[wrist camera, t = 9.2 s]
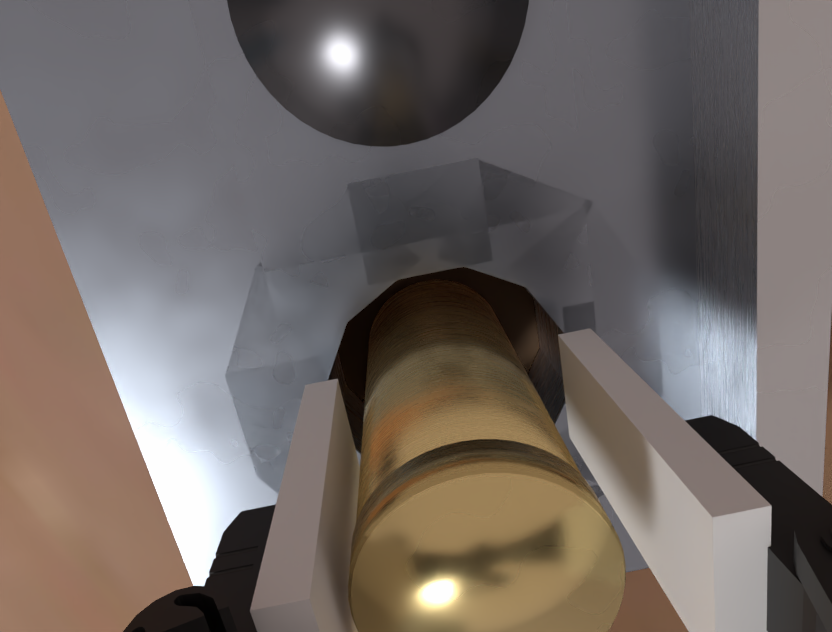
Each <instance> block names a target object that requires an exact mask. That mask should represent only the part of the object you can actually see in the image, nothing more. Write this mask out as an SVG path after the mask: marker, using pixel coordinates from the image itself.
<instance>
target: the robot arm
mask: <svg viewBox="0 0 832 632" xmlns="http://www.w3.org/2000/svg"><path fill="white" fill-rule="evenodd" d="M558 340H559V349H560V358H561V367H562V376H563V385H564V393H565V402H566V411H567V420H568V429H569V437H570V439H571V441H572V442H573V444H574V445H575V447H576V449H577V450H578V452H579V454H580V455H581V457H582V458H583V460H584V462H585V463H586V465H587V467H588V468H589V470H590V472H591V473H592V475H593V476H594V478H595V480H596V481H597V483H598V485H599V486H600V488H601V489H602V491H603V493H604V494H605V496H606V498H607V499H608V501H609V502H610V504H611V506H612V507H613V509H614V511H615V512H616V514H617V516H618V517H619V519H620V520H621V522H622V524H623V525H624V527H625V529H626V530H627V532H628V533H629V535H630V537H631V538H632V540H633V542H634V543H635V545H636V547H637V548H638V550H639V551H640V553H641V555H642V556H643V558H644V560H645V561H646V563H647V564H648V566H649V568H650V569H651V571H652V573H653V574H654V576H655V577H656V579H657V581H658V582H659V584H660V586H661V587H662V589H663V591H664V592H665V594H666V595H667V597H668V599H669V600H670V602H671V604H672V605H673V607H674V608H675V610H676V612H677V613H678V615H679V617H680V618H681V620H682V622H683V623H684V625H685V626H686V628H687V630H688V631H689V632H832V505H831V504H830V503H829V502H828V501H827V500H825V499H824V498H823V497H822V496H821V495H819V494H818V493H817V492H816V491H815V490H814V489H812V488H811V487H810V486H809V485H808V484H807V483H805V482H804V481H803V480H802V479H801V478H799V477H798V476H797V475H796V474H795V473H794V472H792V471H791V470H790V469H789V468H788V467H786V466H785V465H784V464H783V463H782V462H781V461H779V460H778V461H776V459H775V456H774V455H772V454H771V453H770V452H769V451H768V450H766V449H765V448H764V447H763V446H762V447H760V446H759V443H758V442H757V441H756V440H755V439H753V438H752V437H751V436H750V435H749V434H748V433H746V432H745V431H744V430H743V429H742V428H741V427H739V426H737V425H734V424H732V423H730V422H727V421H725V420H723V419H720V418H718V417H716V416H713V415H709V416H705V417H700V418H695V419H690V420H684V419H682V418H681V417H680V416H679V415H678V414H677V413H676V412H675V411H674V410H673V409H672V408H671V407H670V406H669V405H668V404H667V403H666V402H665V401H664V400H663V399H662V398H661V397H660V396H659V395H658V394H657V393H656V392H655V391H654V390H653V389H652V388H651V387H650V386H649V385H648V384H647V383H646V382H645V381H644V380H643V379H642V378H641V377H640V376H639V375H637V374H636V373H635V372H634V371H633V370H632V369H631V368H630V367H629V366H628V365H627V364H626V363H625V362H624V361H623V360H622V359H621V358H620V357H619V356H618V355H617V354H616V353H615V352H614V351H613V350H612V349H611V348H610V347H609V346H608V345H607V344H606V343H605V342H604V341H603V340H602V339H601V338H600V337H599V336H598V335H597V334H596V333H595V332H593V331H592V330H591V329H590V328H589V329H584V330H579V331H574V332H569V333H564V334H559V335H558ZM359 474H360V465H359V461H358V457H357V453H356V449H355V445H354V441H353V437H352V433H351V429H350V425H349V421H348V417H347V413H346V409H345V405H344V401H343V397H342V393H341V389H340V385H339V381H338V379H333V380H328V381H323V382H318V383H313V384H308V385H305V388H304V392H303V396H302V400H301V404H300V408H299V412H298V417H297V421H296V425H295V429H294V433H293V437H292V441H291V445H290V449H289V453H288V457H287V461H286V465H285V470H284V474H283V478H282V482H281V486H280V490H279V494H278V498H277V502H276V504H275V505H270V506H265V507H260V508H255V509H250V510H245V511H241V512H240V513H239V514H238V516H237V517H236V518H235V519H234V520H233V521H232V523H231V524H230V525H229V526H228V527H227V528H226V530H225V531H224V532H223V534H222V537H221V540H220V543H219V546H218V548H217V551H216V554H215V555H216V558H215V559H214V560H213V563H212V565H211V568H210V571H209V577H208V578H207V579H206V582H205V585H204V586H192V587H188V588H184V589H180V590H176V591H174V592H172V593H170V594H168V595H166V596H164V597H162V598H160V599H158V600H156V601H154V602H153V603H152V604H150V605H149V606H148V607H146V608H145V609H144V610H143V611H141V612H140V613H139V614H137V615H136V616H135V618H134V619H133V620H132V621H131V623H130V624H129V625H128V626H127V627H126V629H125V630H124V631H123V632H358V630H357V628H356V626H355V623H354V621H353V618H352V615H351V611H350V606H349V601H348V580H349V567H350V555H351V544H352V537H353V532H354V528H355V525H356V516H357V502H358V488H359Z"/></svg>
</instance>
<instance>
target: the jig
mask: <svg viewBox="0 0 832 632" xmlns="http://www.w3.org/2000/svg"><path fill="white" fill-rule="evenodd" d="M0 90H1V92H2V95H3V97H4V100H5V102H6V105H7V107H8V110H9V113H10V115H11V118H12V120H13V123H14V125H15V128H16V131H17V133H18V136H19V138H20V141H21V143H22V146H23V149H24V151H25V154H26V156H27V159H28V161H29V164H30V167H31V169H32V172H33V174H34V177H35V179H36V182H37V185H38V187H39V190H40V192H41V195H42V197H43V200H44V203H45V205H46V208H47V210H48V213H49V215H50V218H51V221H52V223H53V226H54V228H55V231H56V233H57V236H58V238H59V241H60V244H61V246H62V249H63V251H64V254H65V256H66V259H67V262H68V264H69V267H70V269H71V272H72V274H73V277H74V280H75V282H76V285H77V287H78V290H79V292H80V295H81V298H82V300H83V303H84V305H85V308H86V310H87V313H88V316H89V318H90V321H91V323H92V326H93V328H94V331H95V334H96V336H97V339H98V341H99V344H100V346H101V349H102V352H103V354H104V357H105V359H106V362H107V364H108V367H109V370H110V372H111V375H112V377H113V380H114V382H115V385H116V387H117V390H118V393H119V395H120V398H121V400H122V403H123V405H124V408H125V411H126V413H127V416H128V418H129V421H130V423H131V426H132V429H133V431H134V434H135V436H136V439H137V441H138V444H139V447H140V449H141V452H142V454H143V457H144V459H145V462H146V465H147V467H148V470H149V472H150V475H151V477H152V480H153V483H154V485H155V488H156V490H157V493H158V495H159V498H160V501H161V503H162V506H163V508H164V511H165V513H166V516H167V519H168V521H169V524H170V526H171V529H172V531H173V534H174V536H175V539H176V542H177V544H178V547H179V549H180V552H181V554H182V557H183V560H184V562H185V565H186V567H187V570H188V572H189V575H190V578H191V580H192V583H193V585H194V586H204V585H205V582H206V579H207V578H208V577H209V571H210V568H211V565H212V563H213V560H214V559H215V558H216V555H215V554H216V551H217V548H218V546H219V543H220V540H221V537H222V534H223V532H224V531H225V530H226V528H227V527H228V526H229V525H230V524H231V523H232V521H233V520H234V519H235V518H236V517H237V516H238V514H239V513H240V512H241V511H245V510H250V509H255V508H260V507H265V506H270V505H275V504H276V502H277V498H278V494H279V490H280V486H281V482H282V478H283V474H284V470H285V465H286V461H287V457H288V453H289V449H290V445H291V441H292V437H293V433H294V429H295V425H296V421H297V417H298V412H299V408H300V404H301V400H302V396H303V392H304V388H305V385H308V384H313V383H318V382H323V381H328V380H333V379H338V381H339V385H340V389H341V393H342V397H343V401H344V405H345V409H346V413H347V417H348V421H349V425H350V429H351V433H352V437H353V441H354V445H355V449H356V453H357V457H358V461H359V465H360V460H361V446H362V432H363V418H364V403H363V402H362V401H361V400H360V399H359V398H358V397H357V396H356V395H355V394H354V393H353V392H352V391H351V390H350V389H349V388H348V387H347V386H346V382H345V378H344V373H343V369H342V365H341V361H340V357H339V353H338V348H339V345H340V342H341V339H342V336H343V333H344V330H345V327H346V324H347V322H348V321H350V320H351V319H352V318H353V317H354V316H355V315H357V314H358V313H359V312H360V311H361V310H363V309H364V308H365V307H366V306H367V305H368V304H370V303H371V302H372V301H373V300H374V299H375V298H377V297H378V296H379V295H380V294H381V293H382V292H384V291H385V290H386V289H387V288H388V287H390V286H391V285H392V284H393V283H394V282H395V281H397V280H399V279H404V278H409V277H414V276H419V275H424V274H429V273H434V272H439V271H444V270H449V269H454V268H459V267H467V268H470V269H473V270H476V271H479V272H482V273H485V274H488V275H491V276H494V277H497V278H500V279H503V280H506V281H509V282H512V283H515V284H518V285H521V286H524V288H525V289H526V290H527V291H528V292H529V294H530V295H531V296H532V297H533V298H534V306H535V314H536V322H537V330H538V338H539V346H540V348H539V351H538V353H537V355H536V357H535V360H534V362H533V364H532V366H531V369H530V371H529V373H528V376H529V378H530V380H531V381H532V383H533V385H534V387H535V389H536V391H537V393H538V394H539V396H540V398H541V400H542V402H543V404H544V406H545V408H546V409H547V411H548V413H549V415H550V417H551V419H552V421H553V422H554V424H555V426H556V428H557V430H558V432H559V434H560V436H561V437H562V439H563V441H564V443H565V445H566V447H567V449H568V450H569V452H570V454H571V456H572V458H573V460H574V462H575V464H576V465H577V467H578V469H579V471H580V473H581V475H582V476H583V477H584V478H585V480H586V481H587V482H588V484H589V485H590V486H591V487H592V489H593V490H594V492H595V494H596V496H597V498H598V500H599V501H600V503H601V505H602V507H603V509H604V511H605V512H606V514H607V516H608V518H609V520H610V522H611V523H612V525H613V527H614V529H615V531H616V533H617V535H618V536H619V539H620V542H621V545H622V548H623V552H624V558H625V564H626V572H630V571H635V570H640V569H645V568H649V566H648V564H647V563H646V561H645V560H644V558H643V556H642V555H641V553H640V551H639V550H638V548H637V547H636V545H635V543H634V542H633V540H632V538H631V537H630V535H629V533H628V532H627V530H626V529H625V527H624V525H623V524H622V522H621V520H620V519H619V517H618V516H617V514H616V512H615V511H614V509H613V507H612V506H611V504H610V502H609V501H608V499H607V498H606V496H605V494H604V493H603V491H602V489H601V488H600V486H599V485H598V483H597V481H596V480H595V478H594V476H593V475H592V473H591V472H590V470H589V468H588V467H587V465H586V463H585V462H584V460H583V458H582V457H581V455H580V454H579V452H578V450H577V449H576V447H575V445H574V444H573V442H572V441H571V439H570V437H569V429H568V420H567V411H566V402H565V393H564V385H563V376H562V367H561V358H560V349H559V340H558V335H559V334H564V333H569V332H574V331H579V330H584V329H589V328H590V329H591V330H592V331H593V332H595V333H596V334H597V335H598V336H599V337H600V338H601V339H602V340H603V341H604V342H605V343H606V344H607V345H608V346H609V347H610V348H611V349H612V350H613V351H614V352H615V353H616V354H617V355H618V356H619V357H620V358H621V359H622V360H623V361H624V362H625V363H626V364H627V365H628V366H629V367H630V368H631V369H632V370H633V371H634V372H635V373H636V374H637V375H639V376H640V377H641V378H642V379H643V380H644V381H645V382H646V383H647V384H648V385H649V386H650V387H651V388H652V389H653V390H654V391H655V392H656V393H657V394H658V395H659V396H660V397H661V398H662V399H663V400H664V401H665V402H666V403H667V404H668V405H669V406H670V407H671V408H672V409H673V410H674V411H675V412H676V413H677V414H678V415H679V416H680V417H681V418H682V419H684V420H690V419H695V418H700V417H705V416H709V415H713V416H716V417H718V418H720V419H723V420H725V421H727V422H730V423H732V424H734V425H737V426H739V427H741V428H742V429H743V430H744V431H745V432H746V433H748V434H749V435H750V436H751V437H752V438H753V439H755V440H756V441H757V442H758V443H759V446H760V447H762V446H763V447H764V448H765V449H766V450H768V451H769V452H770V453H771V454H772V455H774V456H775V459H776V461H778V460H779V461H781V462H782V463H783V464H784V465H785V466H786V467H788V468H789V469H790V470H791V471H792V472H794V473H795V474H796V475H797V476H798V477H799V478H801V479H802V480H803V481H804V482H805V483H807V484H808V485H809V486H810V487H811V488H812V489H814V490H815V491H816V492H817V493H818V494H819V495H821V496H822V494H823V474H824V453H825V433H826V413H827V393H828V373H829V353H830V332H831V312H832V0H0Z"/></svg>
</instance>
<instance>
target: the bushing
mask: <svg viewBox="0 0 832 632" xmlns="http://www.w3.org/2000/svg"><path fill="white" fill-rule="evenodd" d="M625 580H626V564H625V558H624V552H623V548H622V545H621V542H620V539H619V536H618V535H617V533H616V531H615V529H614V527H613V525H612V523H611V522H610V520H609V518H608V516H607V514H606V512H605V511H604V509H603V507H602V505H601V503H600V501H599V500H598V498H597V496H596V494H595V492H594V490H593V489H592V487H591V486H590V485H589V484H588V482H587V481H586V480H585V478H584V477H583V476H582V475H581V473H580V471H579V469H578V467H577V465H576V464H575V462H574V460H573V458H572V456H571V454H570V452H569V450H568V449H567V447H566V445H565V443H564V441H563V439H562V437H561V436H560V434H559V432H558V430H557V428H556V426H555V424H554V422H553V421H552V419H551V417H550V415H549V413H548V411H547V409H546V408H545V406H544V404H543V402H542V400H541V398H540V396H539V394H538V393H537V391H536V389H535V387H534V385H533V383H532V381H531V380H530V378H529V376H528V374H527V372H526V370H525V368H524V366H523V365H522V363H521V361H520V359H519V357H518V355H517V353H516V352H515V350H514V348H513V346H512V344H511V342H510V340H509V338H508V337H507V335H506V333H505V331H504V329H503V327H502V325H501V324H500V322H499V320H498V318H497V316H496V314H495V312H494V311H493V309H492V307H491V306H490V305H489V303H488V302H487V301H486V300H485V299H484V298H483V297H482V296H481V295H480V294H479V293H477V292H476V291H475V290H473V289H471V288H469V287H468V286H465V285H463V284H460V283H457V282H453V281H449V280H427V281H422V282H418V283H414V284H412V285H409V286H407V287H405V288H403V289H402V290H400V291H398V292H397V293H396V294H394V295H393V296H392V297H391V298H389V299H388V300H387V301H386V302H385V304H384V305H383V306H382V307H381V309H380V310H379V312H378V313H377V315H376V317H375V319H374V322H373V324H372V327H371V331H370V337H369V349H368V362H367V376H366V390H365V404H364V418H363V432H362V446H361V460H360V474H359V488H358V502H357V516H356V525H355V528H354V532H353V537H352V544H351V555H350V567H349V580H348V601H349V606H350V611H351V615H352V618H353V621H354V623H355V626H356V628H357V630H358V632H608V630H609V629H610V627H611V626H612V624H613V622H614V620H615V618H616V616H617V614H618V611H619V608H620V605H621V602H622V599H623V593H624V587H625Z"/></svg>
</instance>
